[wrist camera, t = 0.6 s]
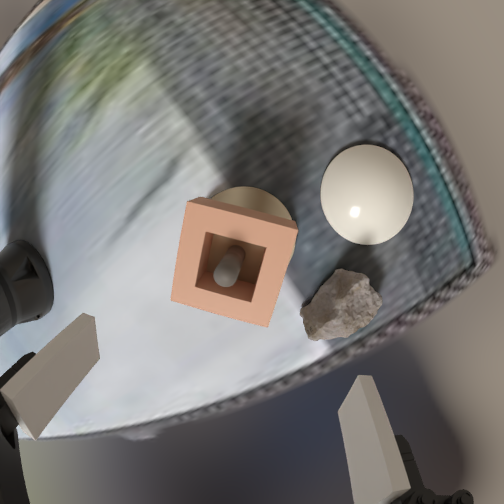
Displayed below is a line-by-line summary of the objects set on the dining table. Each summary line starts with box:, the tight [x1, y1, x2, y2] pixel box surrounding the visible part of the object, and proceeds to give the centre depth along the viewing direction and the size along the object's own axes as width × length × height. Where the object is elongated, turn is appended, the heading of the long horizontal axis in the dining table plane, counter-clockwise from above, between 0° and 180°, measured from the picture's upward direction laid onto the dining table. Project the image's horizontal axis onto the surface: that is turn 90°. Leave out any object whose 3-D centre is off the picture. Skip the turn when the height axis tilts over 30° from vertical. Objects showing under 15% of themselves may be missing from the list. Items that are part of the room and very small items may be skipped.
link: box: [171, 197, 298, 327], centre depth 25 cm, size 9×9×4 cm
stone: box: [300, 268, 382, 341], centre depth 32 cm, size 8×10×6 cm
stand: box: [206, 186, 296, 287], centre depth 27 cm, size 12×12×13 cm
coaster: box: [320, 145, 413, 245], centre depth 30 cm, size 12×12×1 cm
